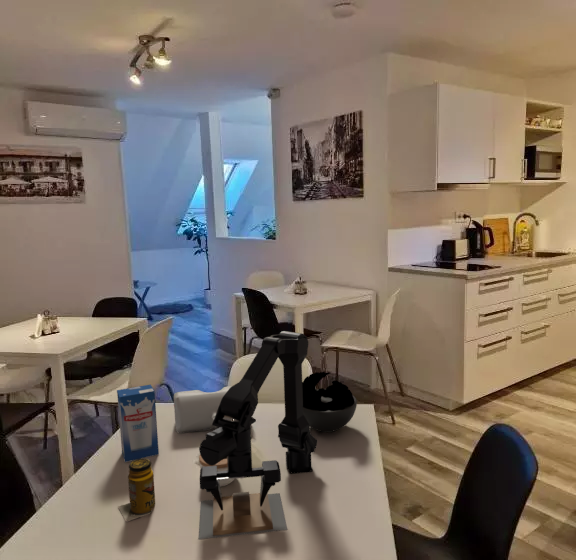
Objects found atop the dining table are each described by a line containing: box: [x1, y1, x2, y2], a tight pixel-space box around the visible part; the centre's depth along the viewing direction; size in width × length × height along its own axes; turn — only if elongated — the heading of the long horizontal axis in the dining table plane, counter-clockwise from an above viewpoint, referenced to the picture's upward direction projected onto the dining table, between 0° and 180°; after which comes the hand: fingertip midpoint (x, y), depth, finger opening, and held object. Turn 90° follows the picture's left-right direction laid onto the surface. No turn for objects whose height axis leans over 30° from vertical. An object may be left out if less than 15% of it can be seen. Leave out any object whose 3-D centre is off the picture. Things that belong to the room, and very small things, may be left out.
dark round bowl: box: [302, 371, 358, 433], centre depth 167 cm, size 20×20×19 cm
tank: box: [173, 385, 233, 434], centre depth 171 cm, size 25×16×12 cm, turn 105°
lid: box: [212, 491, 273, 536], centre depth 122 cm, size 14×14×4 cm
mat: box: [197, 492, 288, 540], centre depth 123 cm, size 20×15×1 cm
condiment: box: [117, 458, 156, 523], centre depth 126 cm, size 7×8×12 cm
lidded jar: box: [198, 454, 235, 487], centre depth 137 cm, size 11×11×9 cm
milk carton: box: [116, 384, 160, 463], centre depth 153 cm, size 10×6×20 cm, turn 115°
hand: (241, 507), depth 122 cm, fingers open, 9 cm apart
